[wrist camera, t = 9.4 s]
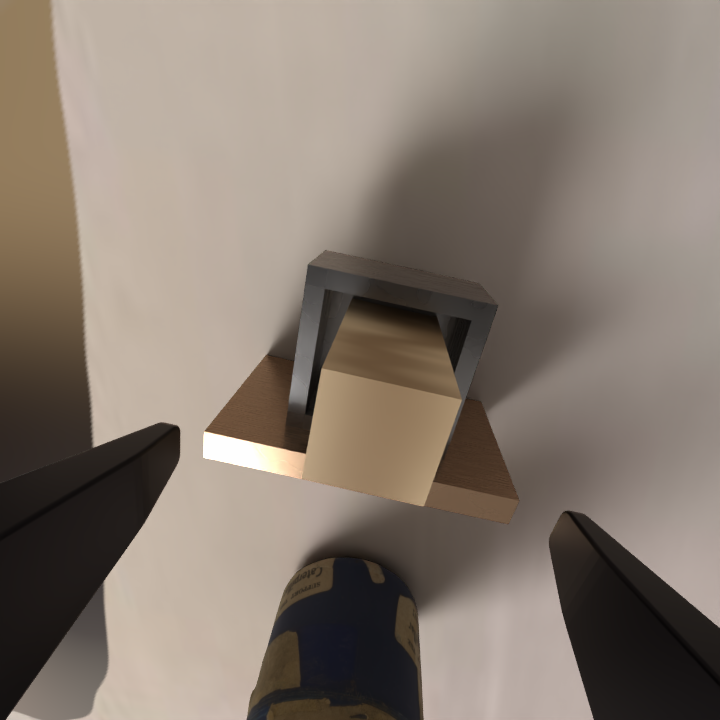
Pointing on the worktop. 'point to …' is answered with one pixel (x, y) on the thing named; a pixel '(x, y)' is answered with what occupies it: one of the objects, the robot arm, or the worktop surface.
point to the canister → (342, 647)
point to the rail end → (383, 405)
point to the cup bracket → (315, 337)
